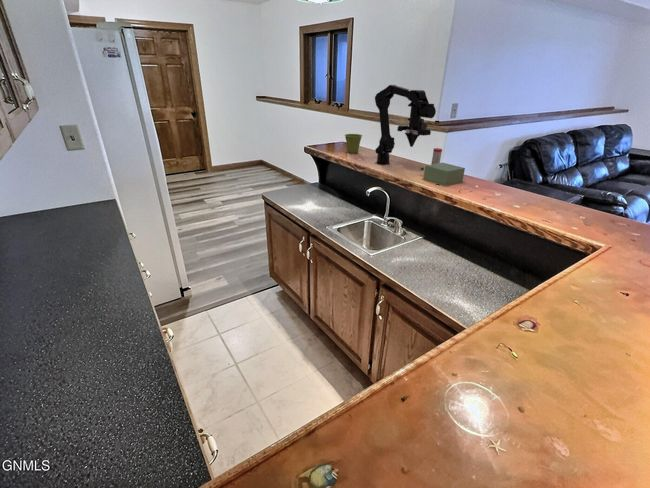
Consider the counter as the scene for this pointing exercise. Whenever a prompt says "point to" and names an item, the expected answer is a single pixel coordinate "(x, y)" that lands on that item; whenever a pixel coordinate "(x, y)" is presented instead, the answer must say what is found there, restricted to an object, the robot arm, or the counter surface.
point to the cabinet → (444, 173)
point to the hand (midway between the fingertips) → (411, 146)
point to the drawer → (423, 171)
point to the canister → (436, 155)
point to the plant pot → (353, 142)
